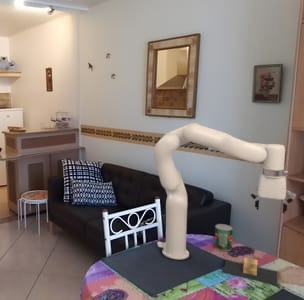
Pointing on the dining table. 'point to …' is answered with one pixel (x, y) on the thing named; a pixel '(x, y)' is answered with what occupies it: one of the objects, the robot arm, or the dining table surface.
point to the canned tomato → (223, 237)
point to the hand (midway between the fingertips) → (270, 210)
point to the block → (250, 266)
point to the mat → (262, 274)
